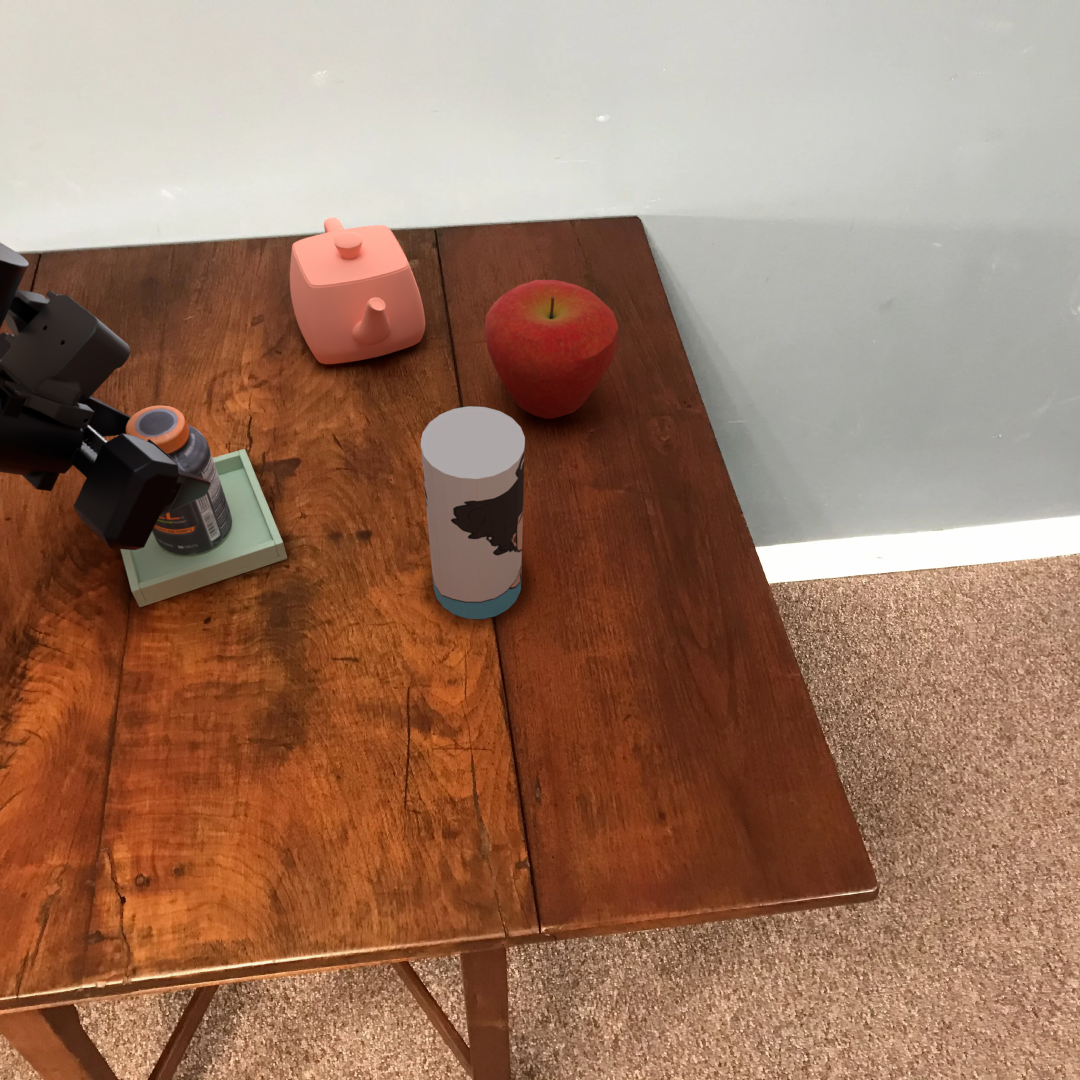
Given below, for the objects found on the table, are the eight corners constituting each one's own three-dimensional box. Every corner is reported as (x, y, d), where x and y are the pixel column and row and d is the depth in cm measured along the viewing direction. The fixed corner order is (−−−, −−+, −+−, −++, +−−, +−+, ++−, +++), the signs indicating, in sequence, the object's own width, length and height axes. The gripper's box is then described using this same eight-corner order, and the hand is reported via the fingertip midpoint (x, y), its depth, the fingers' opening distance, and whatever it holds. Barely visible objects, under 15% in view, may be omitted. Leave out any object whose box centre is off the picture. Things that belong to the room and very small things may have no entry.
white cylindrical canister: (535, 601, 71) (542, 460, 59) (452, 631, 69) (443, 491, 57) (500, 539, 75) (500, 395, 63) (420, 565, 73) (405, 422, 61)
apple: (632, 402, 86) (647, 291, 77) (558, 465, 80) (565, 353, 71) (538, 351, 90) (542, 240, 81) (463, 408, 85) (457, 295, 75)
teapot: (393, 275, 98) (384, 181, 90) (450, 382, 87) (444, 286, 79) (283, 298, 94) (263, 203, 86) (328, 411, 84) (310, 314, 76)
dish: (139, 607, 69) (131, 591, 68) (112, 506, 76) (104, 489, 74) (287, 558, 73) (283, 542, 71) (249, 465, 79) (244, 448, 78)
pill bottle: (139, 543, 73) (90, 436, 64) (185, 492, 76) (145, 385, 68) (204, 567, 71) (163, 462, 63) (248, 514, 75) (215, 407, 66)
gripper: (98, 364, 49) (301, 420, 63) (-71, 225, 56) (143, 302, 70) (13, 546, 51) (228, 561, 65) (-139, 388, 58) (82, 431, 72)
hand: (169, 456), depth 68 cm, fingers open, 9 cm apart
